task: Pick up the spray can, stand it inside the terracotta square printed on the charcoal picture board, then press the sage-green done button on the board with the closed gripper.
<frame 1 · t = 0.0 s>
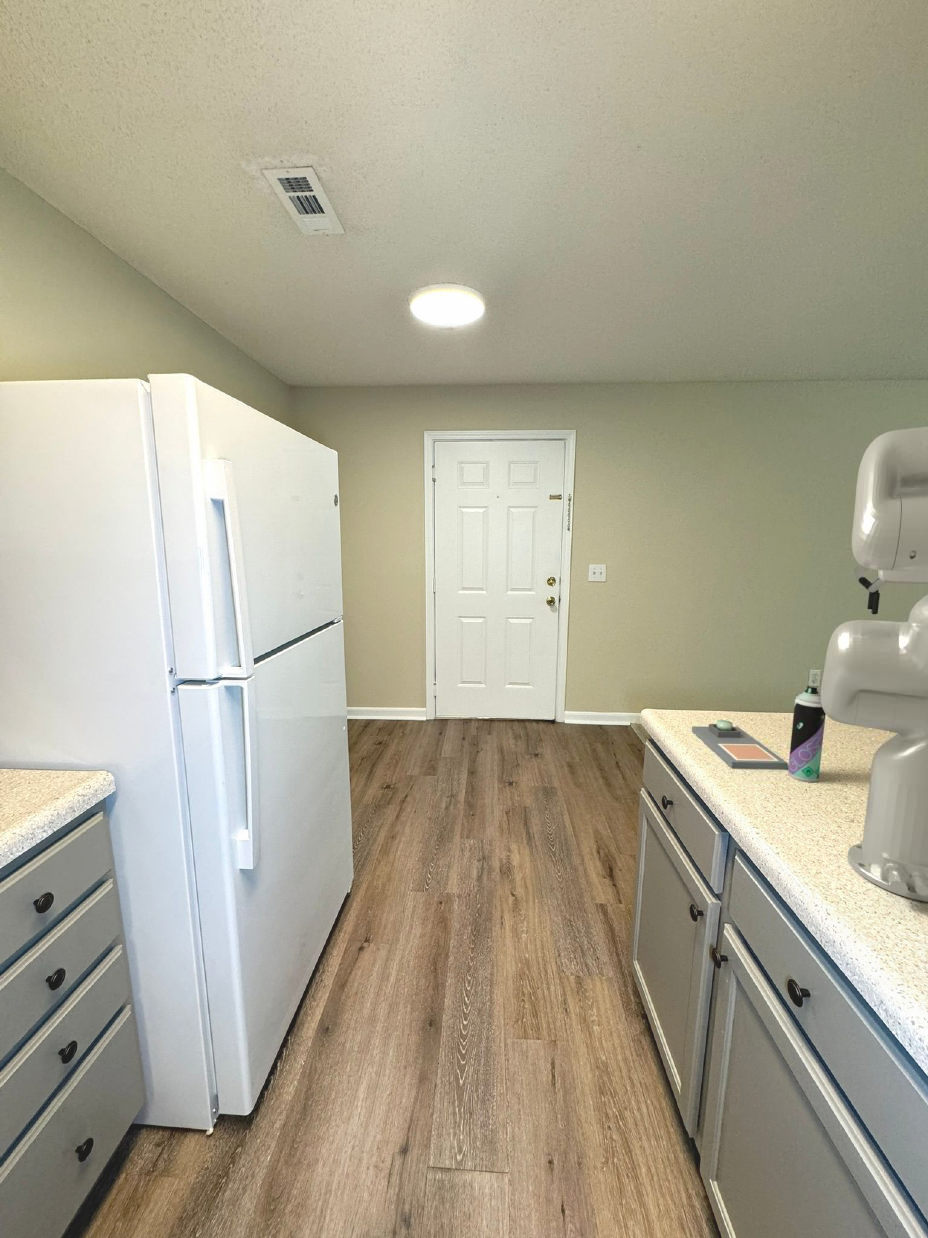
hand: (909, 615, 88), 37 cm above the countertop, tool pointing down, fingers open, 9 cm apart
spray can: (802, 777, 106), on the countertop
done button: (724, 725, 126), point 4 cm above the countertop, slide at 0.0 cm
picture board: (735, 748, 120), on the countertop
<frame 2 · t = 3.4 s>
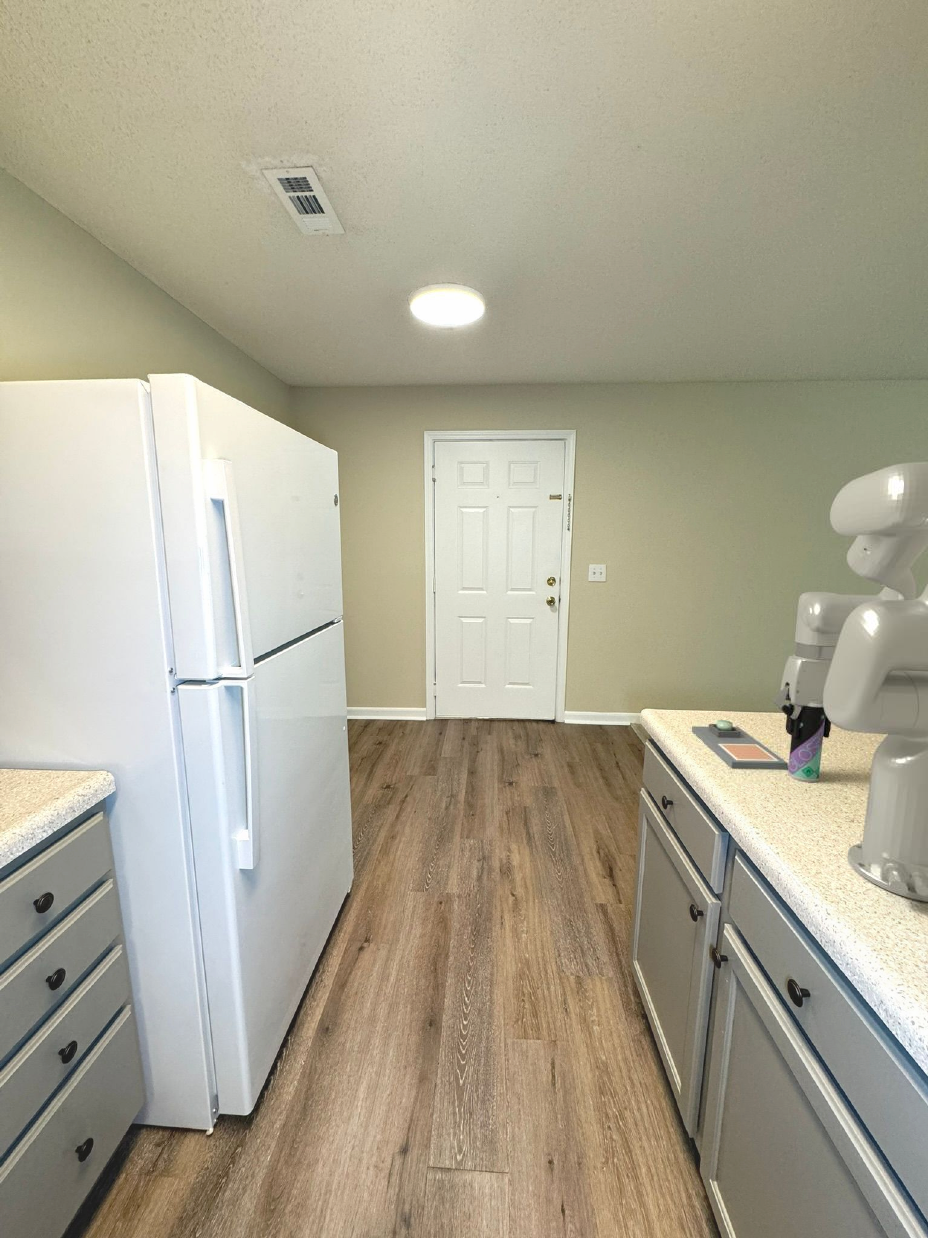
hand: (807, 734, 104), 10 cm above the countertop, tool pointing down, fingers closed on spray can, 5 cm apart
spray can: (802, 777, 106), on the countertop, touching gripper
everything else where it was.
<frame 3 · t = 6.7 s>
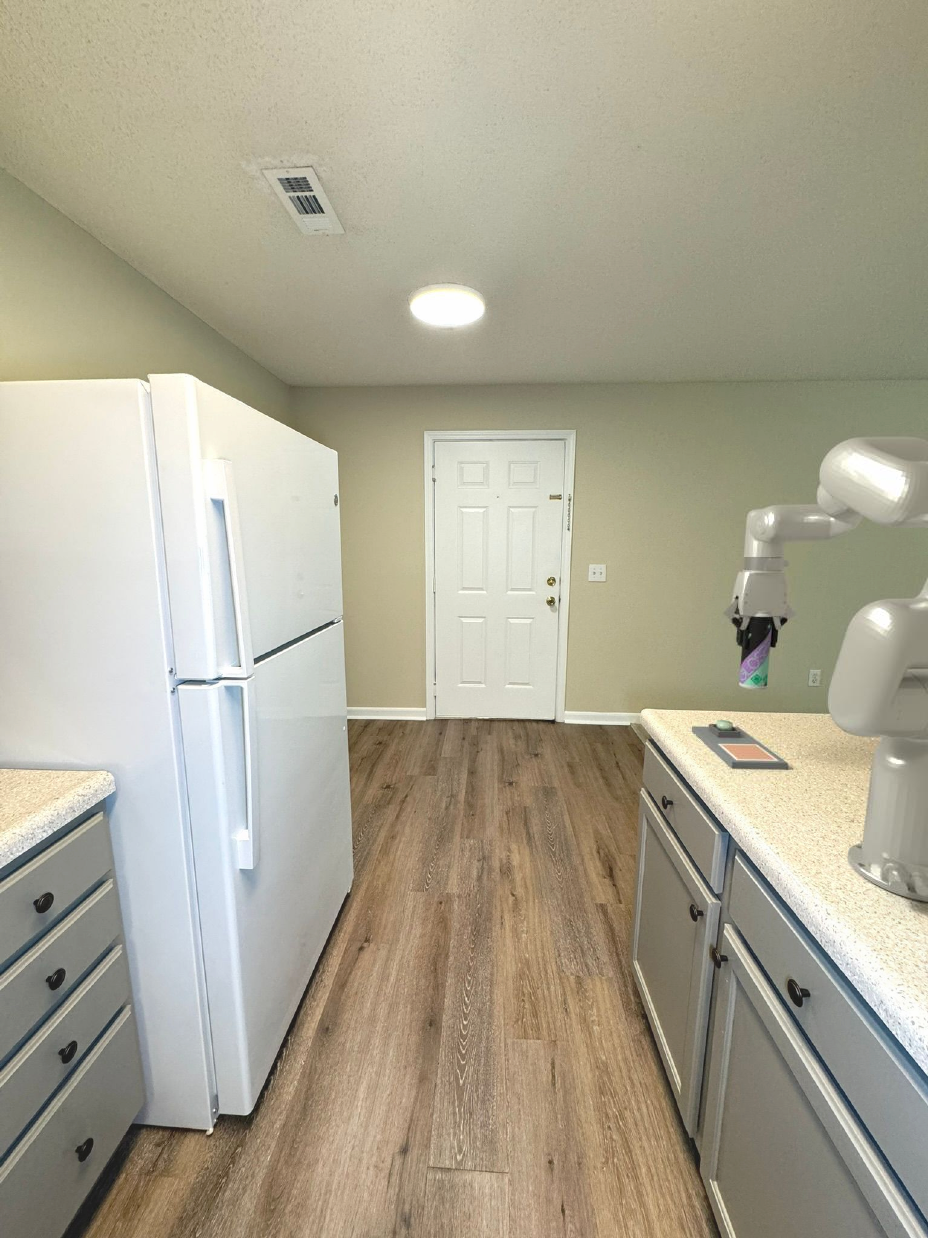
hand: (756, 645, 111), 27 cm above the countertop, tool pointing down, fingers closed on spray can, 5 cm apart
spray can: (752, 687, 112), point 17 cm above the countertop, touching gripper
everything else where it was.
when the fingers open (12 cm above the countertop, at t = 9.8 s): spray can stays where it is, resting on picture board.
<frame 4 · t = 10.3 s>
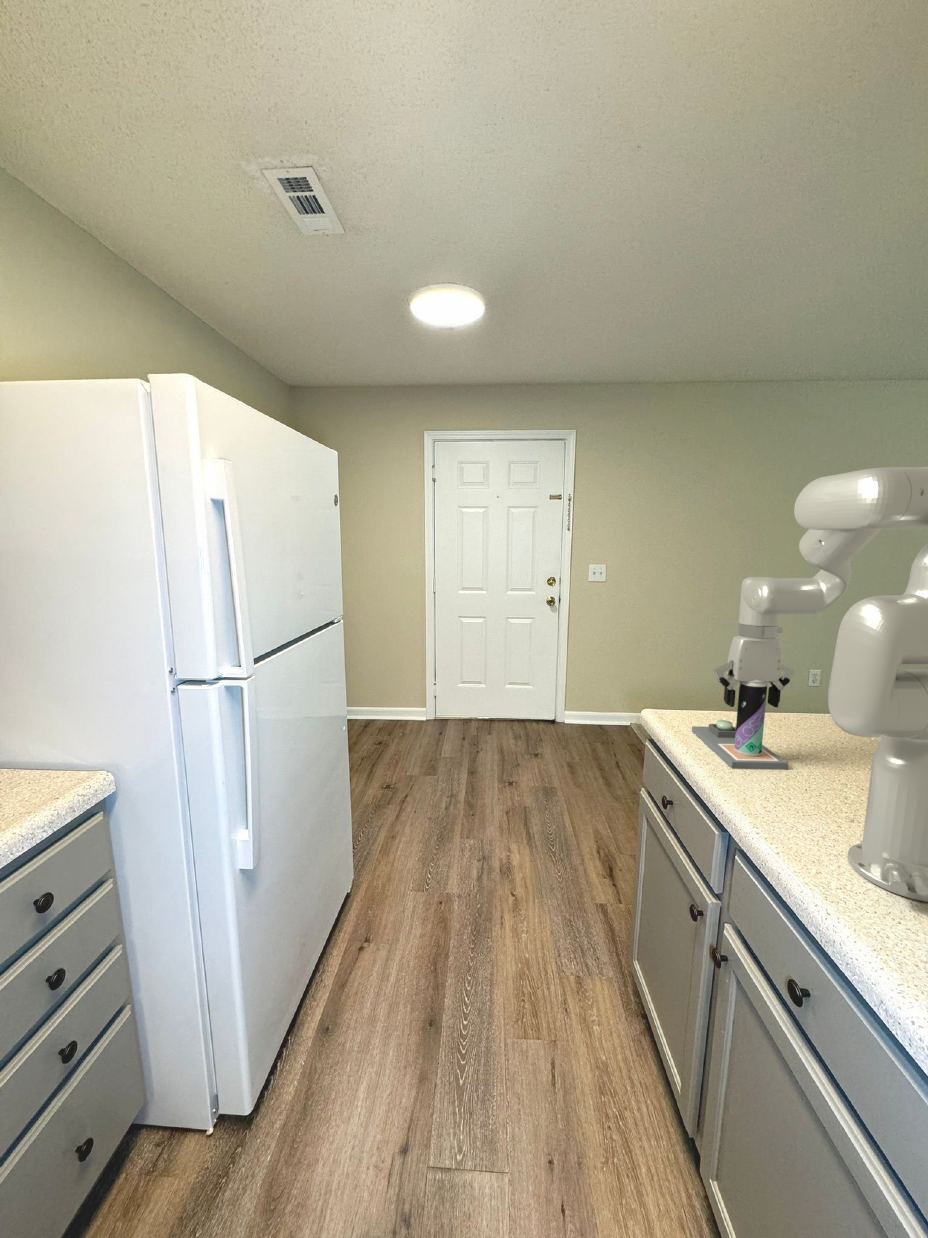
hand: (751, 705, 113), 13 cm above the countertop, tool pointing down, fingers open, 9 cm apart
spray can: (747, 752, 115), point 1 cm above the countertop, touching picture board
everything else where it was.
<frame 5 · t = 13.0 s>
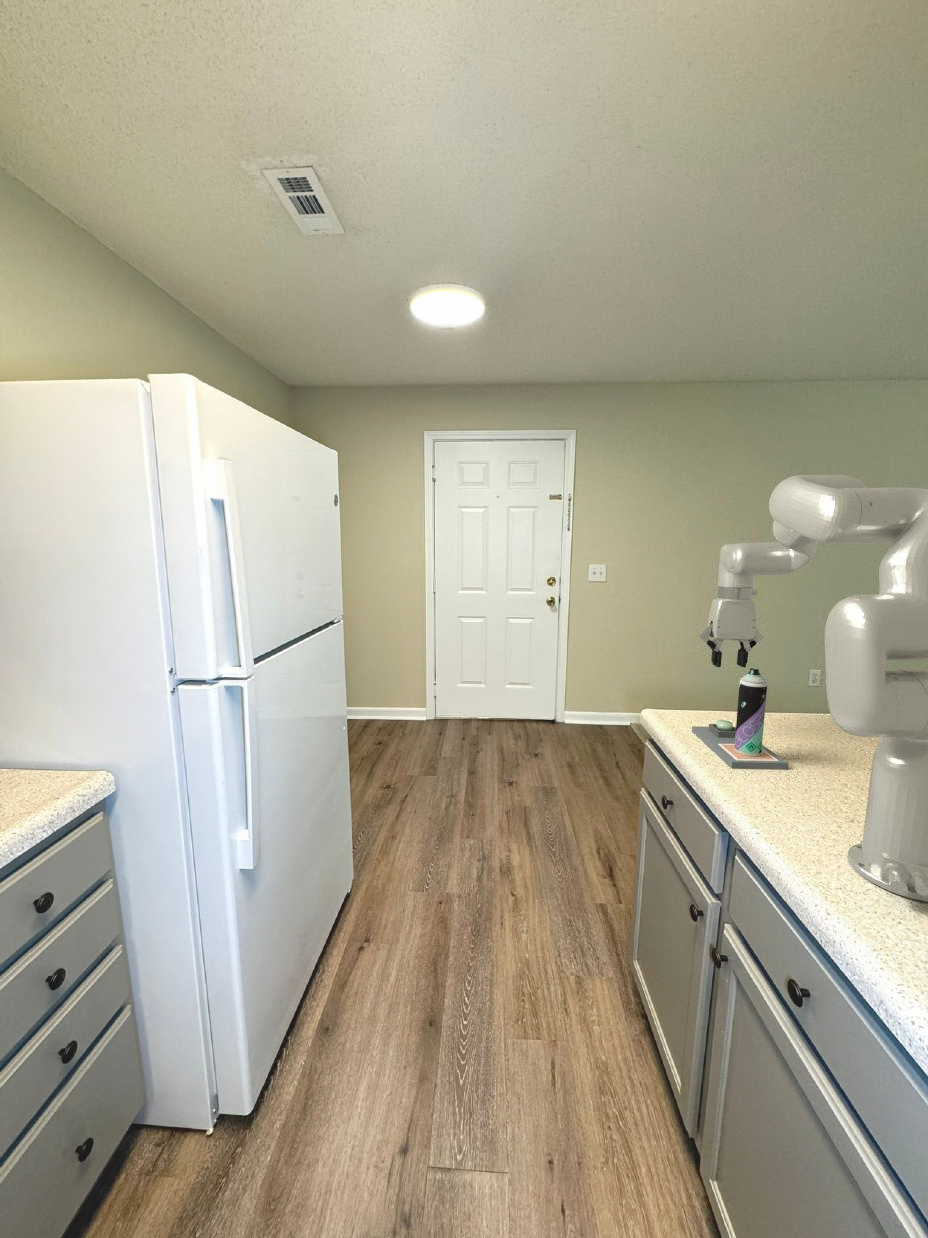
hand: (728, 665, 123), 19 cm above the countertop, tool pointing down, fingers open, 5 cm apart
nothing on the countertop moved.
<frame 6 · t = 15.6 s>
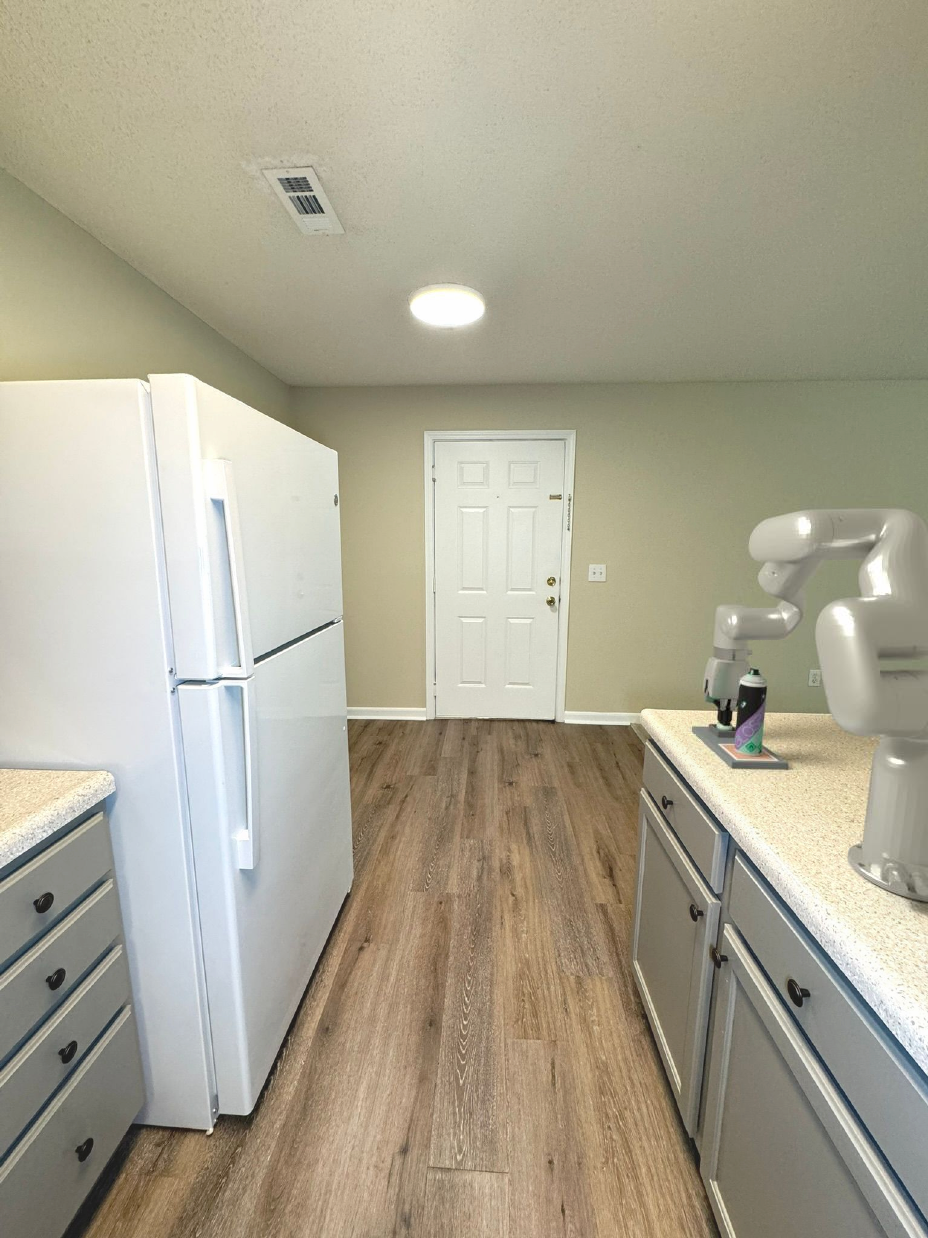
hand: (724, 723, 126), 4 cm above the countertop, tool pointing down, fingers closed
done button: (724, 727, 126), point 3 cm above the countertop, slide at 0.5 cm, touching gripper
everything else where it was.
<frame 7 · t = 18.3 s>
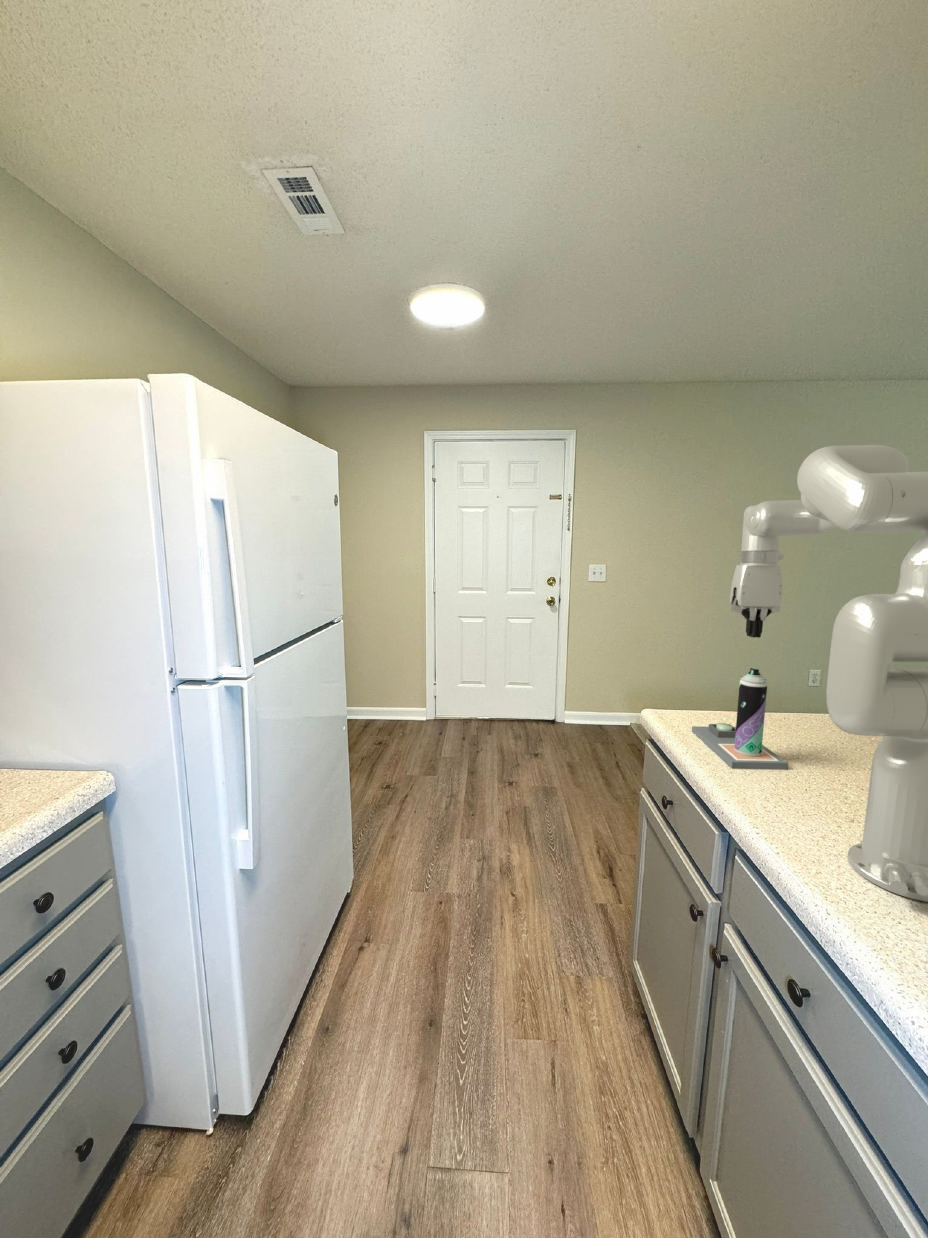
hand: (753, 636, 117), 28 cm above the countertop, tool pointing down, fingers closed
done button: (724, 728, 126), point 3 cm above the countertop, slide at 0.8 cm
everything else where it was.
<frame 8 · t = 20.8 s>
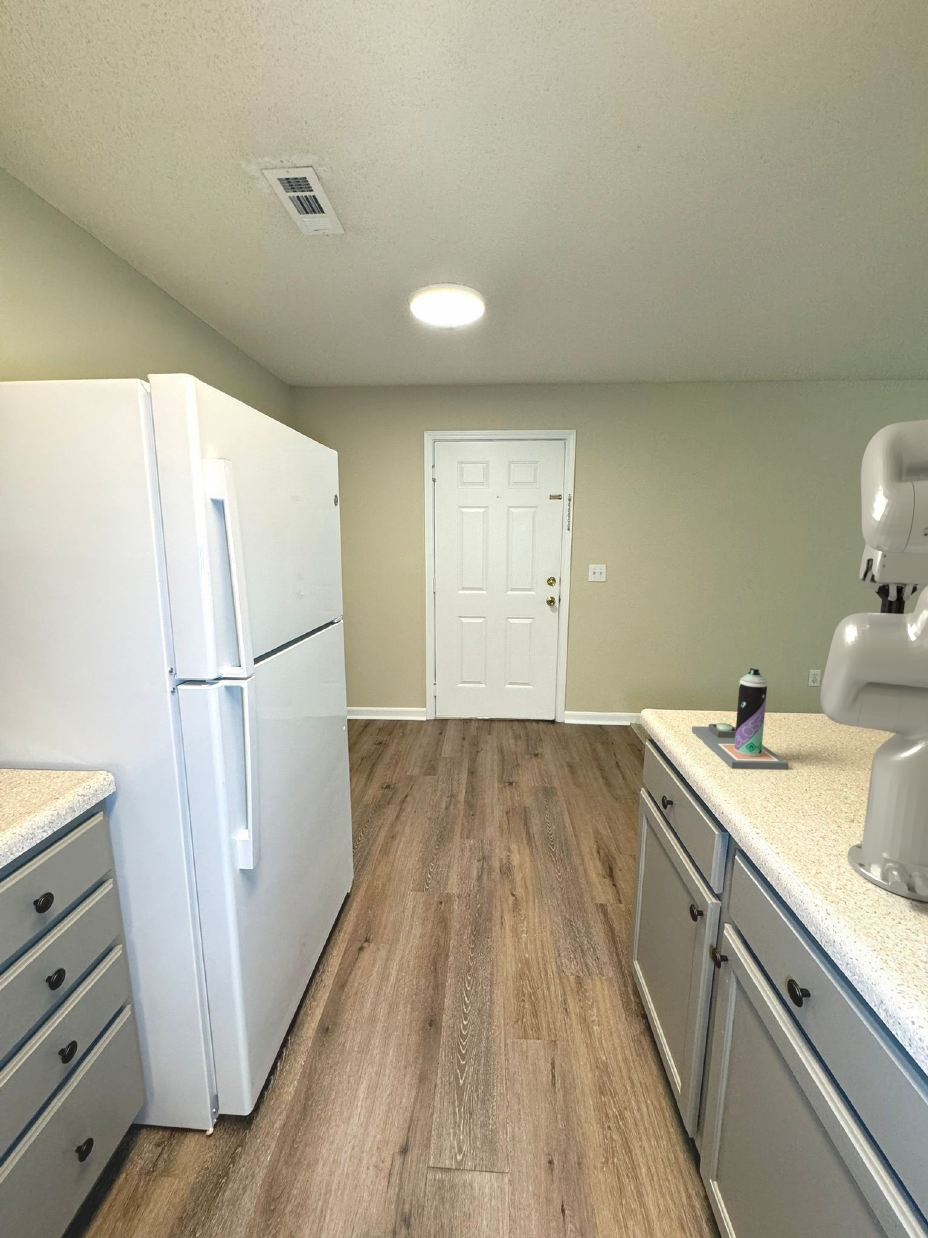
hand: (890, 620, 93), 35 cm above the countertop, tool pointing down, fingers closed
nothing on the countertop moved.
at the end: spray can 0.2 cm from the target spot on the picture board, point 1.4 cm above the picture board's base; spray can tilted 0°; done button slide at 0.8 cm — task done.
